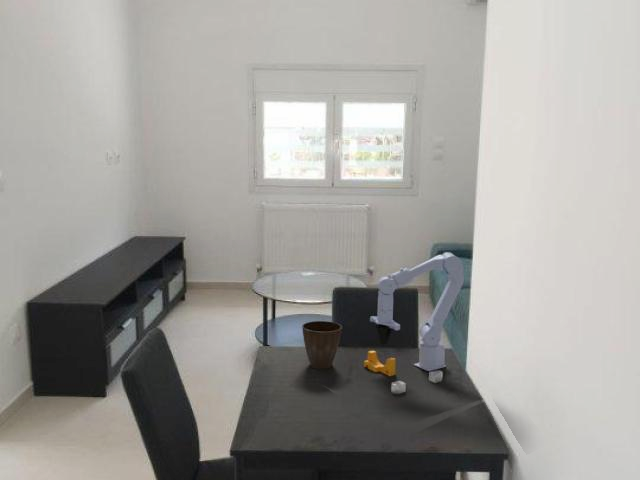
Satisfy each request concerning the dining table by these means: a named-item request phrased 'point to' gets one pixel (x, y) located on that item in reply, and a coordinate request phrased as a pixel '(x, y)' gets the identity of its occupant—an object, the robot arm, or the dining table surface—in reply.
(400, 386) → the chain ends
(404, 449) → the dining table surface
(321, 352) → the plant pot
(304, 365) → the dining table surface
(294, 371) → the dining table surface
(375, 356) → the pipe clamp
